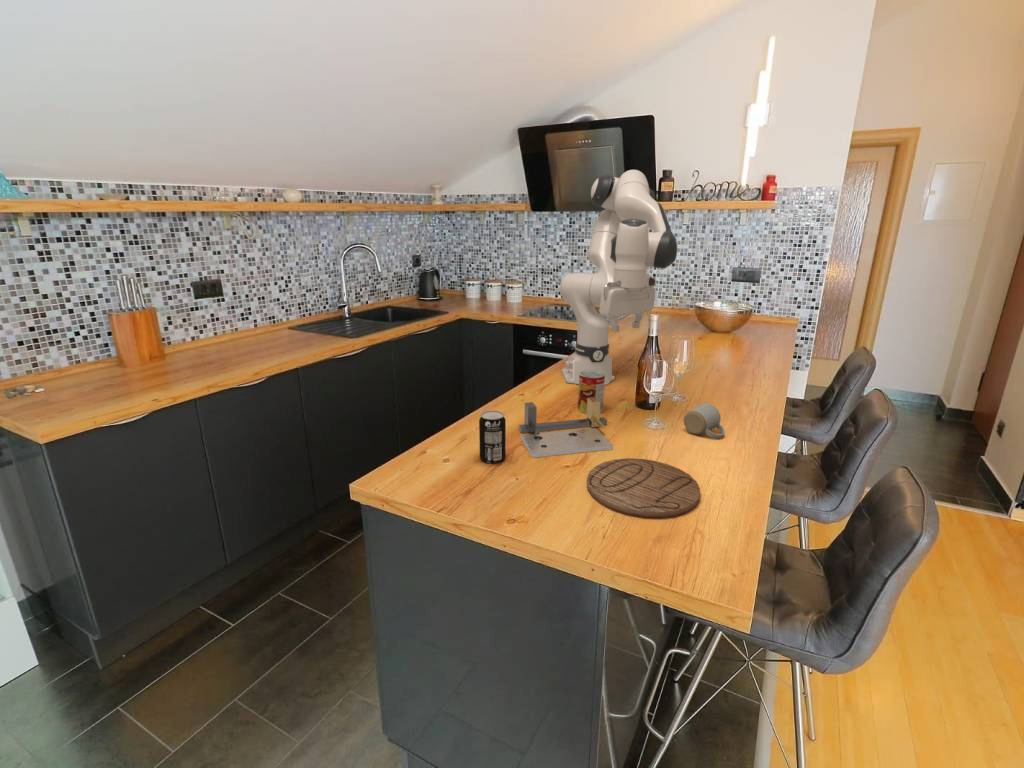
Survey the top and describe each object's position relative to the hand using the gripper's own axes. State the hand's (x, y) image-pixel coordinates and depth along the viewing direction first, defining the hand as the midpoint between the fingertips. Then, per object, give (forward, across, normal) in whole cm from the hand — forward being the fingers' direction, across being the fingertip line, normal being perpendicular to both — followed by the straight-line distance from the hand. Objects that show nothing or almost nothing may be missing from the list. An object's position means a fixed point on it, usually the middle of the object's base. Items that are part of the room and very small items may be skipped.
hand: (625, 329), depth 153 cm
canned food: (+28, +1, +12) cm, 30 cm away
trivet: (+30, -28, -29) cm, 50 cm away
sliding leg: (+28, -9, +1) cm, 29 cm away
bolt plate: (+28, -24, -1) cm, 37 cm away
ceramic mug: (+28, +12, -21) cm, 37 cm away
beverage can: (+29, -44, +5) cm, 53 cm away
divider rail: (+28, -17, +5) cm, 33 cm away
